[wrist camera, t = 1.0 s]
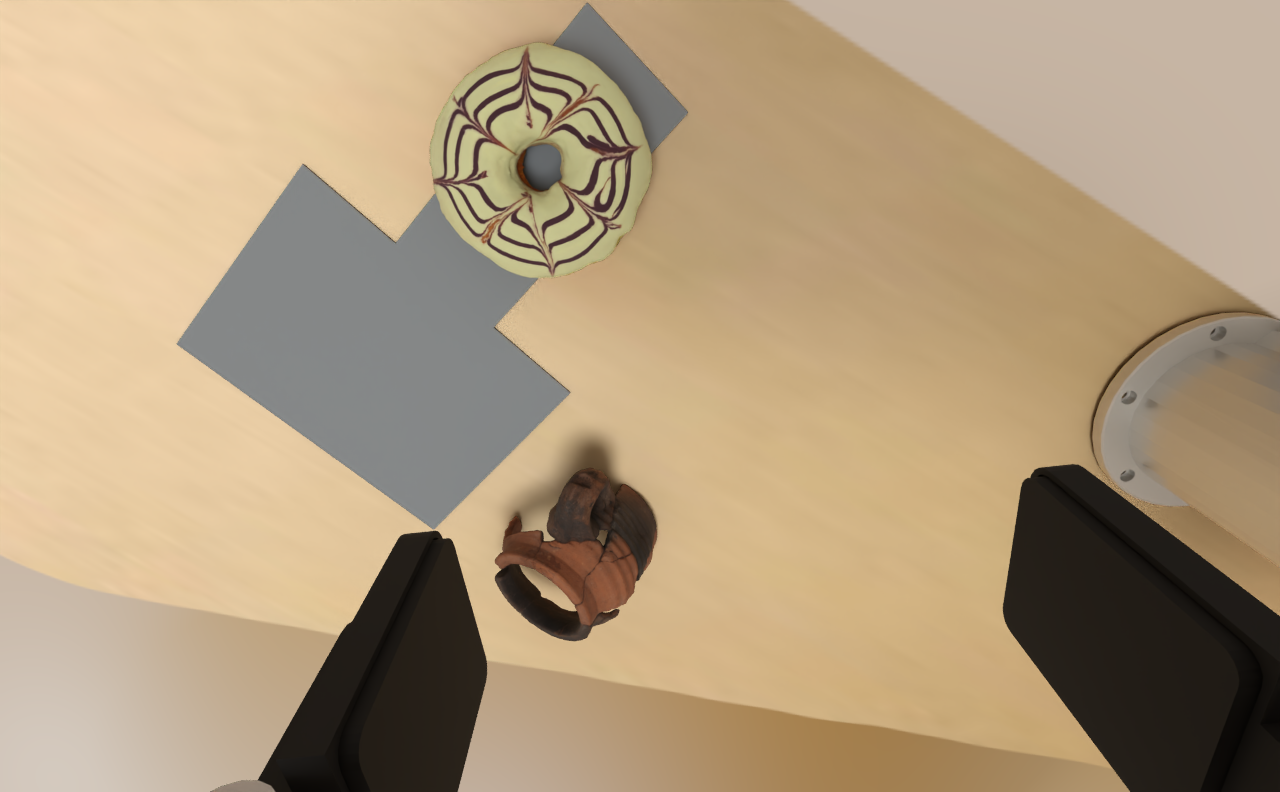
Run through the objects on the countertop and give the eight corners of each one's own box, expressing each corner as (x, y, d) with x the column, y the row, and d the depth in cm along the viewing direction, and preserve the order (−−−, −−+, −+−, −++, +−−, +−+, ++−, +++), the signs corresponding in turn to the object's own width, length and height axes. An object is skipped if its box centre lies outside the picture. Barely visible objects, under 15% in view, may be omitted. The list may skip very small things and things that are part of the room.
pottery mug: (665, 576, 45) (606, 674, 39) (554, 526, 48) (485, 609, 42) (674, 453, 37) (604, 551, 31) (543, 404, 41) (458, 485, 35)
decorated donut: (688, 148, 33) (693, 151, 29) (567, 303, 36) (559, 322, 33) (525, 3, 30) (510, -13, 27) (411, 184, 34) (385, 191, 30)
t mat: (490, -103, 29) (489, -104, 29) (765, 196, 34) (765, 197, 34) (177, 343, 37) (176, 344, 37) (434, 528, 42) (433, 529, 42)
